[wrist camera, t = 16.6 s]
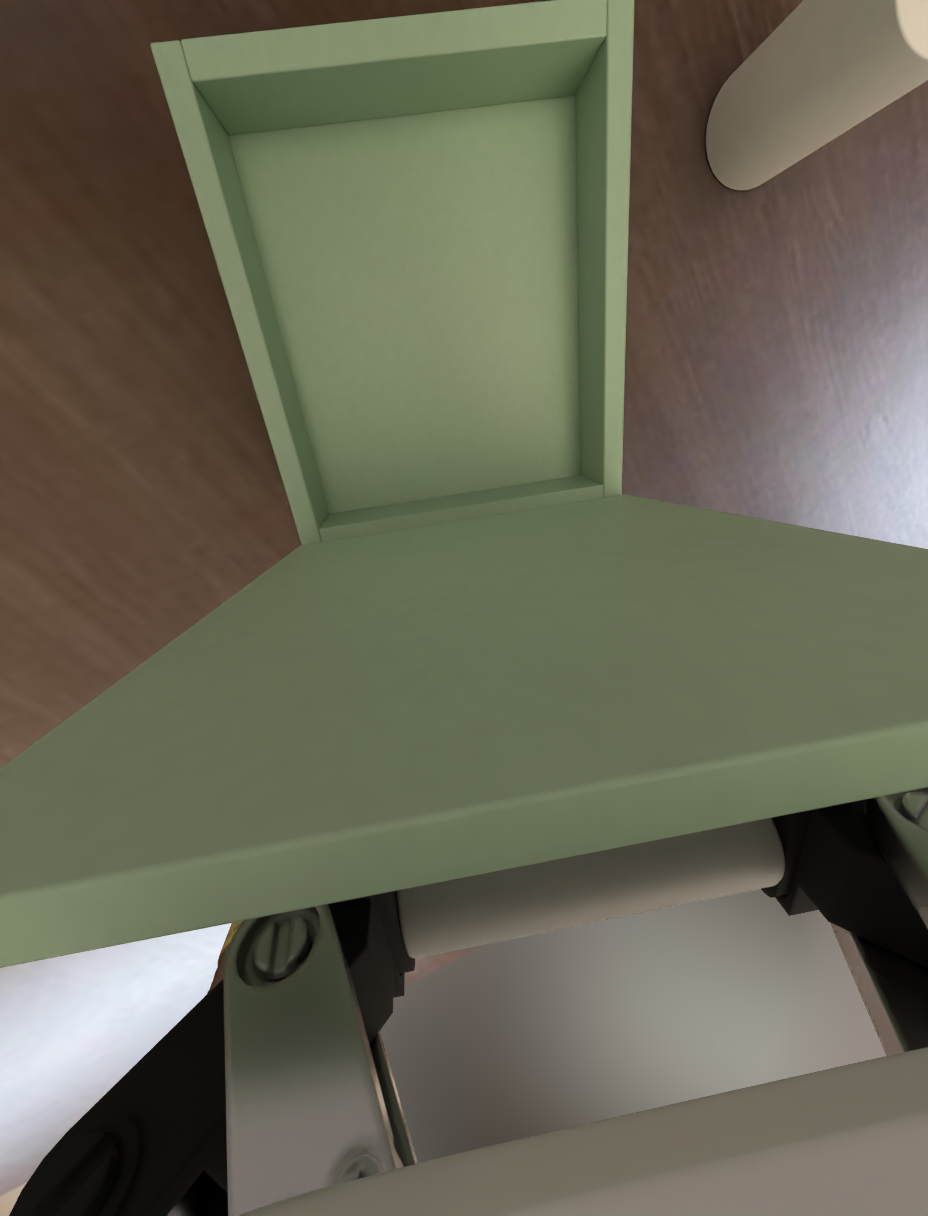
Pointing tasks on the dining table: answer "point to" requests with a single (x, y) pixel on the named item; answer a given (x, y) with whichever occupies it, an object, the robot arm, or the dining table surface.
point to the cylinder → (814, 84)
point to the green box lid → (479, 731)
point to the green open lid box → (423, 252)
